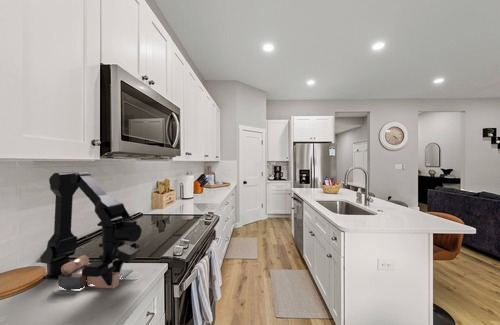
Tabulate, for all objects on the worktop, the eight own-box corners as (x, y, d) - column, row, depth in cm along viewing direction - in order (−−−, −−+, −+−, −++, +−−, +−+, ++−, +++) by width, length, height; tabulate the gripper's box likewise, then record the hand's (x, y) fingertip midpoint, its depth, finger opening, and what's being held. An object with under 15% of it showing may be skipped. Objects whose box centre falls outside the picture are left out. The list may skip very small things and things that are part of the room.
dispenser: (58, 290, 73) (58, 264, 73) (79, 277, 81) (79, 254, 81) (79, 291, 72) (79, 265, 72) (98, 278, 80) (98, 255, 80)
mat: (88, 278, 80) (88, 277, 80) (102, 269, 87) (102, 268, 87) (120, 280, 79) (120, 279, 79) (132, 271, 86) (132, 270, 86)
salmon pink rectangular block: (87, 286, 75) (87, 274, 75) (93, 282, 77) (93, 270, 77) (113, 288, 74) (113, 275, 74) (118, 284, 76) (118, 272, 76)
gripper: (113, 250, 65) (114, 302, 65) (149, 230, 84) (149, 270, 84) (80, 249, 66) (80, 299, 66) (122, 230, 85) (122, 269, 85)
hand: (112, 283), depth 75 cm, fingers closed on salmon pink rectangular block, 2 cm apart
